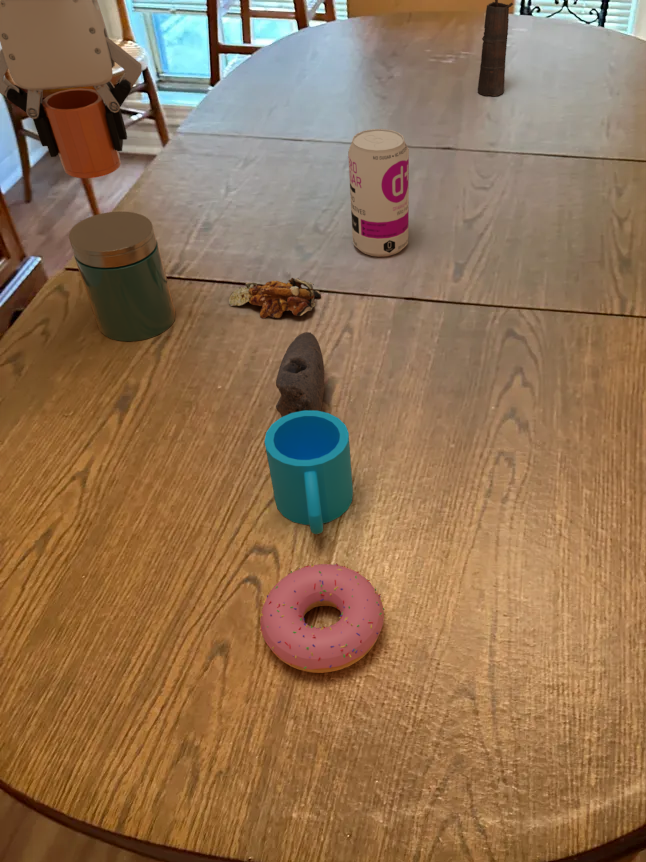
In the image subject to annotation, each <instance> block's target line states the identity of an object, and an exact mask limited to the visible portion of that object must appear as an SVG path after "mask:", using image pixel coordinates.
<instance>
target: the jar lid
mask: <svg viewBox="0 0 646 862" xmlns="http://www.w3.org/2000/svg"><path fill="white" fill-rule="evenodd" d="M68 240H69V243H70V246H71V250H72V251H73V256H74V255H75V257H76V258H77V259H78V260H79V261H80V262H81V263H83V264H86V265H88V266H92V267H100V268H112V267H120V266H125V265H129V264H132V263H135V262H137V261H140V260H142V259H144V258H145V257H147V256H148V255H149V254H151V253H152V252H153V250H154V249H155V247H156V240H157V237H156V234H155V229H154V226H153V223H152V221H151V220H150V219H149V218H148V217H146V216H145V215H143V214H140V213H137V212H133V211H109V212H103V213H99V214H95V215H91V216H89V217H85V218H84V219H82V220H81V221H79V222H77V223H76V224H75V225H74V226H72V228H71V229H70V231H69V233H68ZM75 257H74V258H75Z"/></svg>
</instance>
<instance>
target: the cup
mask: <svg viewBox="0 0 646 862" xmlns="http://www.w3.org/2000/svg"><path fill="white" fill-rule="evenodd" d="M42 105H43V108H44V111H45V114H46V117H47V120H48V123H49V126H50V129H51V132H52V135H53V138H54V142H55V145H56V148H57V151H58V156H59V159H60V163H61V165H62V167H63V170H64V172H65V174H67V175H68V176H70V177H72V178H75V179H76V178H77V179H95V178H100V177H103V176H107V175H109V174H112V173H113V172H116V171H117V170H118V169H119V168H120V167H121V164H122V161H121V157H120V156H121V155H120V151H117V150H115V148H114V145H113V141H112V138H111V134H110V130H109V127H108V123H107V120H106V115H105V113H106V104H105V103H104V101H103V100H102V98H101V97H100V96H99V94H98V93H97V91H96V90H95V89H92V88H83V87H78V88H67V89H63V90H60V91H56V92H54V93H52V94H49V95H47V96H46V97H44V99H42Z"/></svg>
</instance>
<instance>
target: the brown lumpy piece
mask: <svg viewBox="0 0 646 862" xmlns="http://www.w3.org/2000/svg"><path fill="white" fill-rule="evenodd" d="M287 281H288V282H287V283H286V282H283V281H279V280H270V281H266V282H265V284H263V285H259V284H258V283H257V282H246V283H245V287H243V286H239V287H237V288H236V290H234V291H232V292H231V293H230V295H229V297H228V298H229V300H228V305H229V306H230V307H232V306H238V307H241V306H243V305H245V304H246V303H248V302H249V304H251V305H252V306H259V307H261V308H260V312H259V317H260V318H261V319H266V318H267V317H270V318H275V319H280V318H282V316H283V313H284V312H285V311H291V313H292V314H293V316H297V317H301V316H303V315H304V314H306V313H307V312H310V311H311V312H312V310H313V308H314V307H316V303H315V297H317V298H321V297H322V294H321V292H320V291H319V290H314V285H315V283H313V282H311V281H310V282H309V281H306V280H301V279H300V278H299V277H296V278H295V277H291V278H289V280H287ZM303 286H304V287H306V288H307V289H306V288H303Z"/></svg>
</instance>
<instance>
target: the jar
mask: <svg viewBox="0 0 646 862" xmlns="http://www.w3.org/2000/svg"><path fill="white" fill-rule="evenodd" d="M73 257H74V260H75V264H76V266H77V269H78V272H79V275H80V277H81V281H82V284H83V287H84V289H85V293H86V296H87V298H88V302H89V304H90V307H91V310H92V313H93V316H94V319H95V322H96V324H97V327H98V330H99V331H100V333H101V334H102V335H103V336H105V337H106V338H108V339H111V340H114V341H120V342H139V341H144V340H149V339H151V338H154V337H157V336H158V335H161V334H162V333H165V332H166V331H167V330H168V329H169V328H170V327H172V325H173V324H174V322H175V320H176V309H175V306H174V302H173V298H172V295H171V294H172V293H171V290H170V285H169V282H168V278H167V274H166V270H165V266H164V262H163V257H162V254H161V250H160V246H159V242H158V240H157V239H156V247H155V249H154V250H153V252H152V253H151V254H149V255H148V256H147V257H145V258H144V259H142V260H140V261H137V262H135V263H132V264H129V265H125V266H120V267H112V268H100V267H92V266H88V265H86V264H83V263H81V262H80V261H79V260H78V259H77V258H76V257H75V255H74V254H73Z"/></svg>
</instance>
